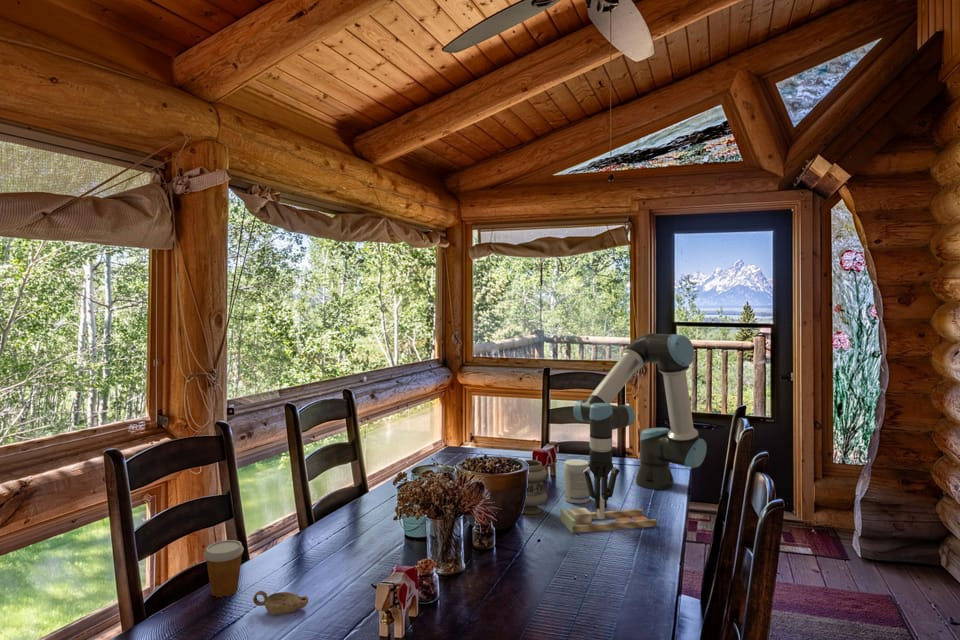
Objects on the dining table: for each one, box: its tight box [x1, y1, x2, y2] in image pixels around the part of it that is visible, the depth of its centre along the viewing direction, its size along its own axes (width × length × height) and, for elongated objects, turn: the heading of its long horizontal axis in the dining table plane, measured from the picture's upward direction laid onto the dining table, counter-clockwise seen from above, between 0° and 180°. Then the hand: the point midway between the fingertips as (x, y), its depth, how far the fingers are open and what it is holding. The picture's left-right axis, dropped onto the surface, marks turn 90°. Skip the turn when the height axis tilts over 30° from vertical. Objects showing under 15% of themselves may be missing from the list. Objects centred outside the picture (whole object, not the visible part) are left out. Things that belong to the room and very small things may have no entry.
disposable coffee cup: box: [203, 539, 244, 598], centre depth 157 cm, size 10×10×12 cm
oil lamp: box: [252, 590, 309, 616], centre depth 147 cm, size 13×8×5 cm, turn 90°
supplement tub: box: [563, 458, 591, 505], centre depth 230 cm, size 10×10×15 cm
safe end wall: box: [559, 508, 575, 534], centre depth 203 cm, size 1×11×4 cm, turn 11°
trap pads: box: [613, 514, 649, 522], centre depth 208 cm, size 11×8×1 cm
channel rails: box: [571, 508, 658, 534], centre depth 206 cm, size 30×11×2 cm, turn 101°
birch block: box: [567, 507, 593, 525], centre depth 204 cm, size 6×6×5 cm
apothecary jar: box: [521, 459, 548, 518], centre depth 217 cm, size 12×12×18 cm
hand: (600, 517), depth 205 cm, fingers closed
